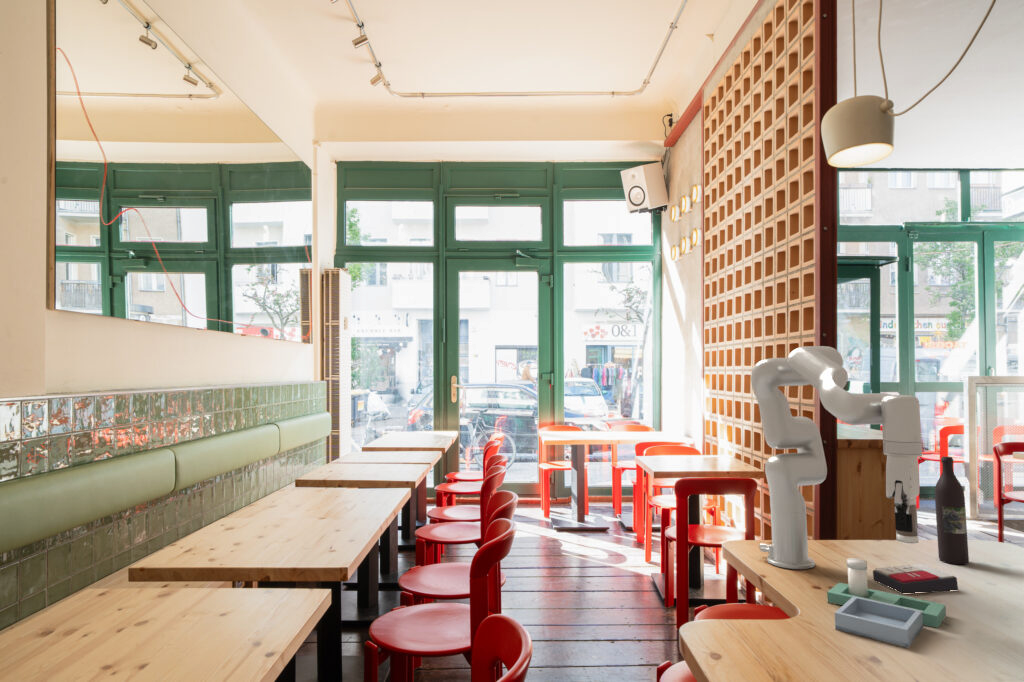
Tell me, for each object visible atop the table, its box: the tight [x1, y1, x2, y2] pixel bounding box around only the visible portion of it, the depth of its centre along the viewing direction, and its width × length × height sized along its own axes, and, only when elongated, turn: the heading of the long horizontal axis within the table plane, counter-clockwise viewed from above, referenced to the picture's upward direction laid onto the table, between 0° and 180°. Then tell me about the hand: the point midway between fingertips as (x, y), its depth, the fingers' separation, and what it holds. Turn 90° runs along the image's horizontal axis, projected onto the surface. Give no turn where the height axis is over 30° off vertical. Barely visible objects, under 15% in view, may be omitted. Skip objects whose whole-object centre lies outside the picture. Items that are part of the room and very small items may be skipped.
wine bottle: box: [934, 456, 970, 566], centre depth 175 cm, size 7×7×30 cm
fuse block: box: [826, 582, 947, 629], centre depth 140 cm, size 22×9×2 cm, turn 45°
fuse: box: [846, 557, 869, 598], centre depth 144 cm, size 4×4×10 cm
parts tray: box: [834, 596, 924, 649], centre depth 130 cm, size 13×13×4 cm
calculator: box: [872, 563, 959, 594], centre depth 155 cm, size 11×4×15 cm
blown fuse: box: [893, 496, 919, 544], centre depth 138 cm, size 4×4×10 cm
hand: (906, 528), depth 138 cm, fingers closed on blown fuse, 4 cm apart
